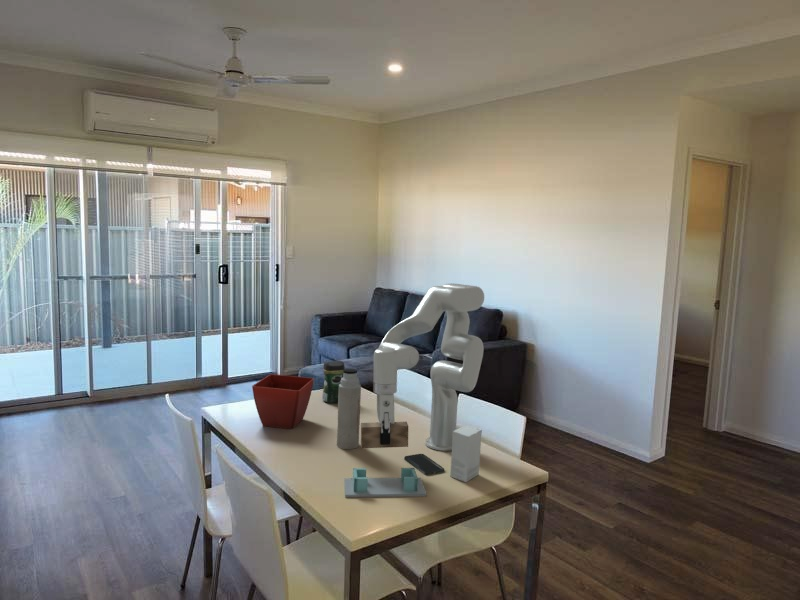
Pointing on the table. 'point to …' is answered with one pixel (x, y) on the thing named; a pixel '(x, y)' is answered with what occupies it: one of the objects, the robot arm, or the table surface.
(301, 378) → the plant pot
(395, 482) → the rail
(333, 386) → the coffee jar
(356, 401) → the thermos bottle
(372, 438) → the brown wooden block
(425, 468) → the phone
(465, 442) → the skincare box
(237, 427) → the table surface
